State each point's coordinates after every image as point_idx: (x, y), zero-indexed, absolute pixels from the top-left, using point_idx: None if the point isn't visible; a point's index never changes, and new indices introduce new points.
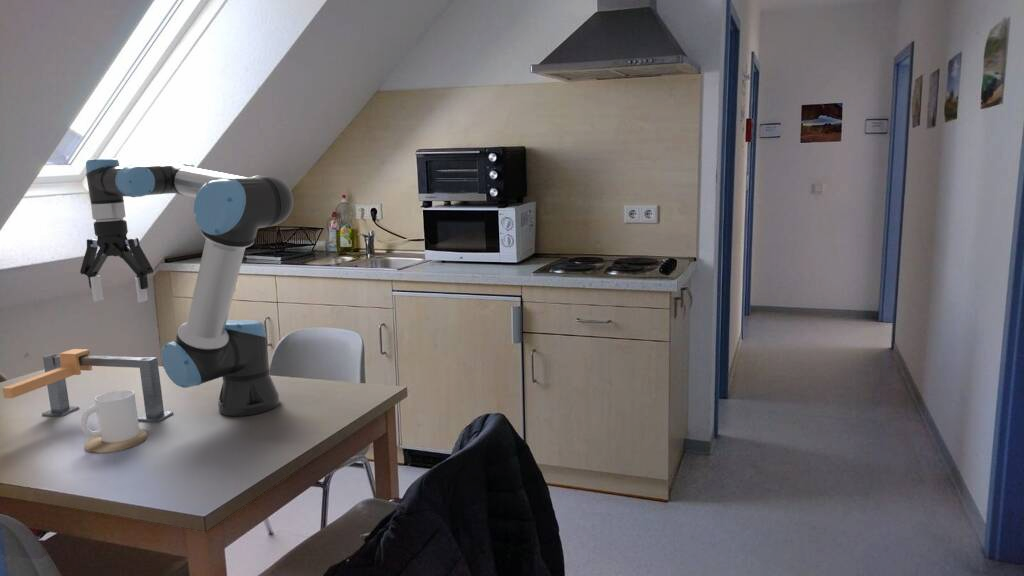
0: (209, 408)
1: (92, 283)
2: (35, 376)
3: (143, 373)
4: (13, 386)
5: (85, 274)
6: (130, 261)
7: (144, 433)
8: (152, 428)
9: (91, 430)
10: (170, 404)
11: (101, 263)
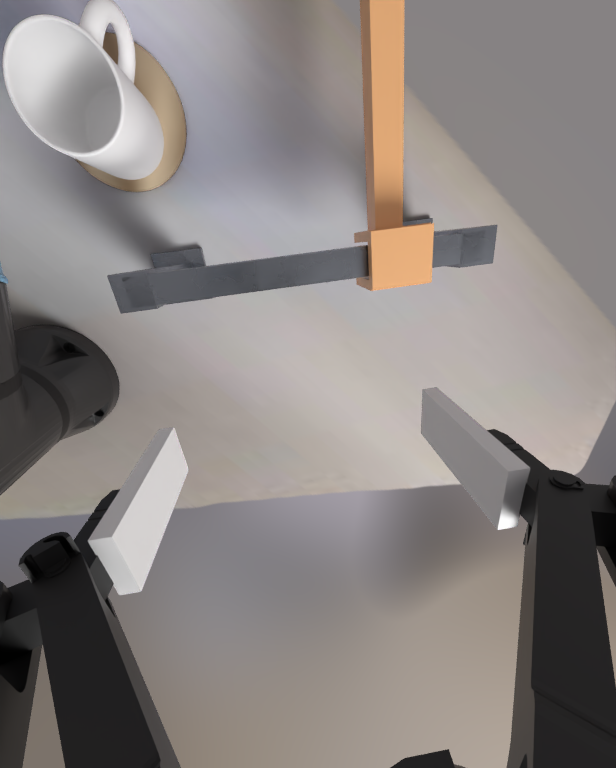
0: (128, 349)
1: (485, 442)
2: (400, 86)
3: (149, 269)
4: None
5: (597, 486)
6: (57, 716)
7: (95, 173)
8: (128, 220)
9: (122, 50)
10: (225, 346)
11: (523, 625)
